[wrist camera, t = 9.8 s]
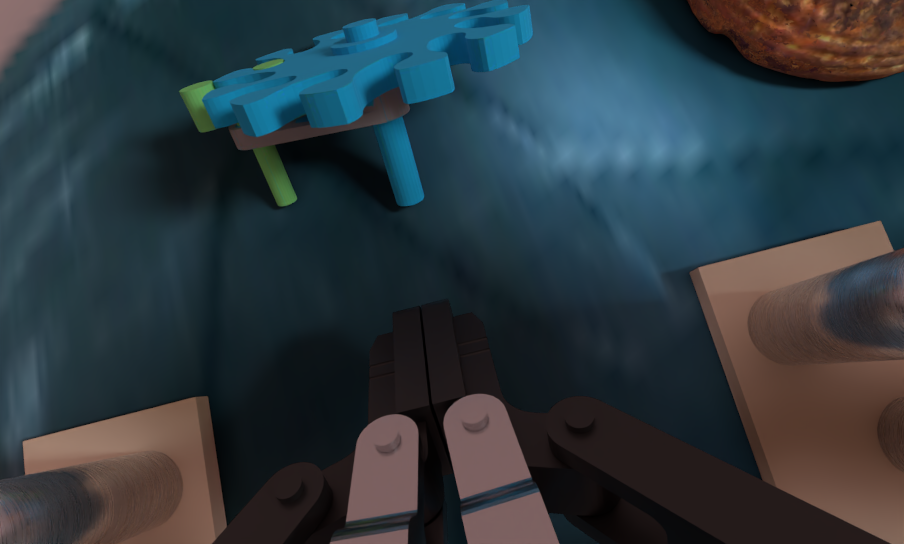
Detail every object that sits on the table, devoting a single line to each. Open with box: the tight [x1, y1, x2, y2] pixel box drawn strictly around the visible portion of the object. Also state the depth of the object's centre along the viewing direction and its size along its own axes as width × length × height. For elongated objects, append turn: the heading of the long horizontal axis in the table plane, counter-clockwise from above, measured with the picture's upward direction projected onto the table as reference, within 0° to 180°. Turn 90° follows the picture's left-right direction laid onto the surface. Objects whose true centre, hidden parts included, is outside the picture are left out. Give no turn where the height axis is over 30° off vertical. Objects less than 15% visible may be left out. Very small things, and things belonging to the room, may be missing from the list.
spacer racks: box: [23, 221, 904, 544], centre depth 17 cm, size 13×29×1 cm, turn 104°
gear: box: [179, 0, 533, 206], centre depth 18 cm, size 11×6×10 cm
